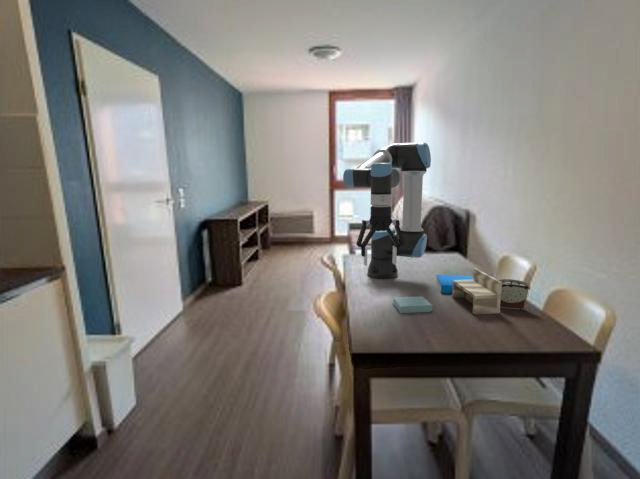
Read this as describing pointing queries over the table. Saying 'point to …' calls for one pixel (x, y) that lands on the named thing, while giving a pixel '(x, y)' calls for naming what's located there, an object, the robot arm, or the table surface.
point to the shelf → (479, 292)
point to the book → (449, 282)
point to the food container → (513, 294)
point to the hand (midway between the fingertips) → (379, 264)
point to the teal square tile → (412, 304)
